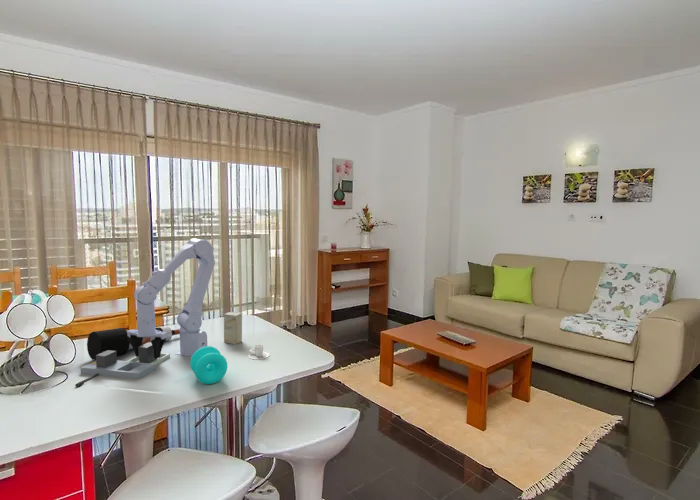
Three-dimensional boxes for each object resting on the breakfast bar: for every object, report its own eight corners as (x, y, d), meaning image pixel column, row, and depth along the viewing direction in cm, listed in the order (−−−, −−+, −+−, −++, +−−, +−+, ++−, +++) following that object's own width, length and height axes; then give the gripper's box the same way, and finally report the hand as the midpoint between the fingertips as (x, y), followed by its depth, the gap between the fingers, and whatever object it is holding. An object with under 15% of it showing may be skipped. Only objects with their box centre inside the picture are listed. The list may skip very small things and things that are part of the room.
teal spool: (220, 370, 138) (219, 342, 136) (228, 381, 129) (228, 351, 128) (189, 377, 132) (188, 348, 131) (196, 388, 124) (195, 357, 123)
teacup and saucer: (247, 353, 155) (247, 343, 155) (268, 351, 158) (267, 341, 157) (248, 361, 147) (248, 350, 146) (270, 359, 149) (270, 348, 149)
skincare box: (223, 342, 166) (222, 314, 164) (230, 339, 170) (229, 311, 169) (236, 344, 164) (235, 315, 162) (242, 341, 168) (242, 312, 166)
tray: (170, 358, 148) (169, 353, 148) (151, 369, 138) (150, 364, 138) (145, 356, 150) (145, 351, 150) (125, 366, 140) (125, 361, 140)
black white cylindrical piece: (181, 348, 172) (189, 329, 169) (95, 366, 143) (103, 343, 140) (169, 333, 176) (176, 315, 174) (84, 348, 148) (91, 326, 145)
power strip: (155, 370, 137) (154, 352, 136) (119, 391, 121) (118, 371, 121) (100, 365, 141) (99, 347, 141) (59, 385, 126) (57, 365, 125)
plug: (157, 359, 146) (156, 343, 146) (147, 364, 141) (146, 347, 141) (148, 358, 147) (148, 342, 146) (139, 363, 142) (138, 347, 142)
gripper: (120, 321, 140) (122, 359, 142) (156, 324, 137) (158, 362, 139) (134, 316, 147) (136, 352, 149) (169, 318, 144) (171, 355, 146)
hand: (148, 356), depth 144 cm, fingers open, 7 cm apart
